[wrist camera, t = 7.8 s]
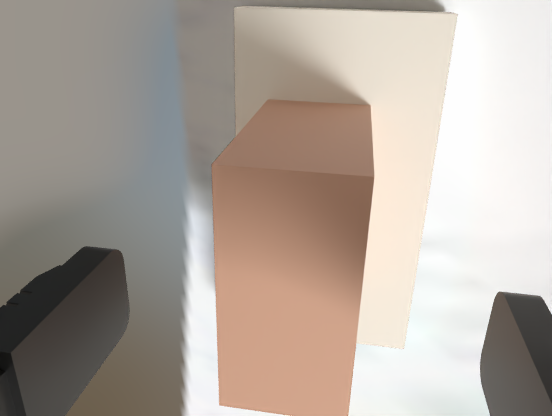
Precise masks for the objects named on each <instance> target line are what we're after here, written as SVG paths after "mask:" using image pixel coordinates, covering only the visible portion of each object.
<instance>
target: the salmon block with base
mask: <svg viewBox="0 0 552 416" xmlns="http://www.w3.org/2000/svg"><path fill="white" fill-rule="evenodd" d="M457 16H458V14H455V13H452V12H429V11H396V10H363V9H330V8H297V7H264V6H239V7H234V57H235V138H234V139H233V140H232V141H231V142H230V144H229V145H228V146H227V147H226V148H225V149H224V151H223V152H222V153H221V154H220V155H219V156H218V157H217V159H216V160H215V161H214V162H213V163H212V195H213V225H214V256H215V287H216V317H217V348H218V378H219V405H221V406H227V407H234V408H241V409H248V410H255V411H262V412H269V413H276V414H283V415H290V416H348V412H349V403H350V394H351V385H352V376H353V367H354V358H355V349H356V343H358V344H366V345H375V346H383V347H391V348H399V349H404V346H405V339H406V333H407V327H408V321H409V314H410V308H411V302H412V296H413V290H414V283H415V277H416V271H417V265H418V258H419V252H420V246H421V240H422V233H423V227H424V221H425V215H426V209H427V202H428V196H429V190H430V184H431V177H432V171H433V165H434V159H435V153H436V146H437V140H438V134H439V128H440V121H441V115H442V109H443V103H444V96H445V90H446V84H447V78H448V72H449V65H450V59H451V53H452V47H453V40H454V34H455V28H456V22H457Z"/></svg>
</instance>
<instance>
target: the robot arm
mask: <svg viewBox="0 0 552 416" xmlns="http://www.w3.org/2000/svg"><path fill="white" fill-rule="evenodd" d="M128 320H129V300H128V291H127V283H126V275H125V267H124V259H123V256H122V253H121V252H120V251H119V250H116V249H107V248H98V247H87V246H86V247H83V248H82V249H80V250H79V251H78V252H77V253H76V254H75V255H74V256H72V257H71V258H70V259H69V260H68V261H67V262H66V263H65V264H63V265H62V266H60V265H59V266H57V267H55V268H53V269H51V270H49V271H47V272H45V273H43V274H41V275H39V276H37V277H36V278H34V279H33V280H32V281H31V282H30V283H28V285H26V286H25V287H24V288H23V289H21V291H20V294H19V293H17V294H16V295H14V296H13V297H12V298H11V299H10V300H9V301H7V304H6V305H3V306H2V307H0V416H65V415H66V414H67V412H68V411H69V410H70V408H71V407H72V405H73V404H74V403H75V401H76V400H77V398H78V397H79V396H80V394H81V393H82V392H83V390H84V389H85V387H86V386H87V385H88V383H89V382H90V380H91V379H92V378H93V376H94V375H95V373H96V372H97V371H98V369H99V368H100V367H101V365H102V363H103V362H104V361H105V360H106V358H107V357H108V355H109V354H110V353H111V351H112V350H113V348H114V347H115V346H116V344H117V343H118V342H119V340H120V339H121V337H122V336H123V334H124V332H125V330H126V327H127V324H128ZM480 376H481V383H482V388H483V391H484V395H485V398H486V402H487V405H488V409H489V413H490V416H552V314H551V313H550V311H549V309H548V307H547V305H546V304H545V302H544V300H543V299H542V297H540V296H536V295H527V294H517V293H508V292H498V293H497V295H496V297H495V299H494V303H493V307H492V311H491V315H490V319H489V324H488V328H487V332H486V336H485V341H484V345H483V349H482V354H481V362H480Z"/></svg>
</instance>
